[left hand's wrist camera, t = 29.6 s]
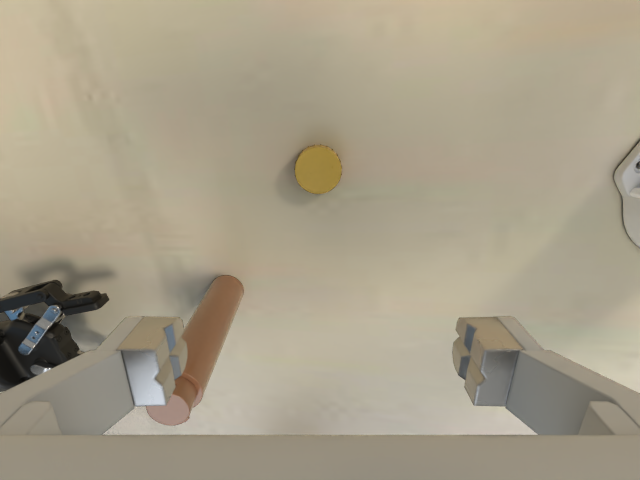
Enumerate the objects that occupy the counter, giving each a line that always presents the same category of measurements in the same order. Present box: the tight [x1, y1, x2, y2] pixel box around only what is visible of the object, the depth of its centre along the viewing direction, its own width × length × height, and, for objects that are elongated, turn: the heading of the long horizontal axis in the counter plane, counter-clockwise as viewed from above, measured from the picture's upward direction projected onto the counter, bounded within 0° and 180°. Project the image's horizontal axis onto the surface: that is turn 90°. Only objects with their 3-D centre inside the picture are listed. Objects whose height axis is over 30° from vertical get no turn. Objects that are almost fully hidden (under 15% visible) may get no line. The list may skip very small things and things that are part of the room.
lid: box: [294, 144, 342, 194], centre depth 37 cm, size 5×5×2 cm
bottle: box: [146, 275, 244, 425], centre depth 35 cm, size 4×4×18 cm
